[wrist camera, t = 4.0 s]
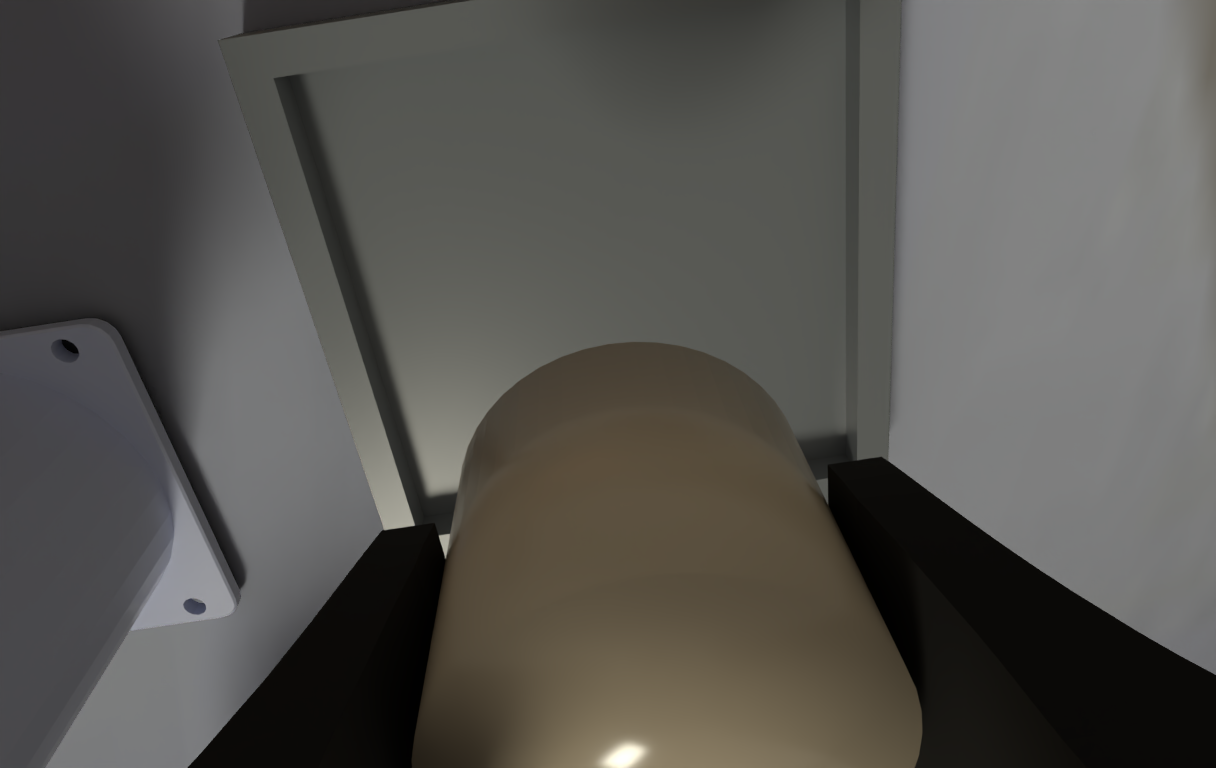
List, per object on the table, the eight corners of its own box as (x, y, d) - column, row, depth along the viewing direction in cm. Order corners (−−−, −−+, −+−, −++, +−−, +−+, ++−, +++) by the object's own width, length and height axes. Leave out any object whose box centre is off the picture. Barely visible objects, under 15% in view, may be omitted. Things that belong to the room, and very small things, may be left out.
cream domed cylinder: (497, 643, 12) (473, 942, 8) (422, 372, 10) (347, 619, 6) (805, 598, 12) (912, 881, 8) (795, 315, 10) (935, 533, 6)
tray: (404, 534, 20) (396, 566, 19) (242, 33, 15) (217, 40, 14) (869, 465, 20) (887, 494, 19) (878, -67, 15) (903, -68, 13)
